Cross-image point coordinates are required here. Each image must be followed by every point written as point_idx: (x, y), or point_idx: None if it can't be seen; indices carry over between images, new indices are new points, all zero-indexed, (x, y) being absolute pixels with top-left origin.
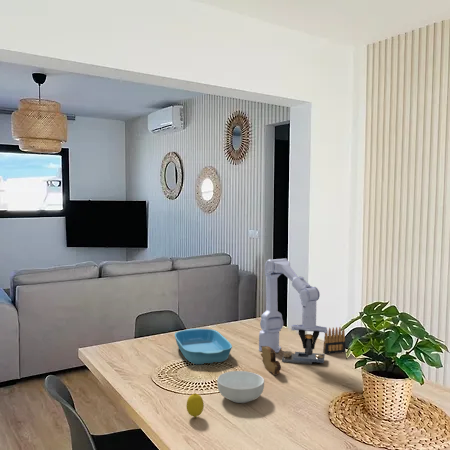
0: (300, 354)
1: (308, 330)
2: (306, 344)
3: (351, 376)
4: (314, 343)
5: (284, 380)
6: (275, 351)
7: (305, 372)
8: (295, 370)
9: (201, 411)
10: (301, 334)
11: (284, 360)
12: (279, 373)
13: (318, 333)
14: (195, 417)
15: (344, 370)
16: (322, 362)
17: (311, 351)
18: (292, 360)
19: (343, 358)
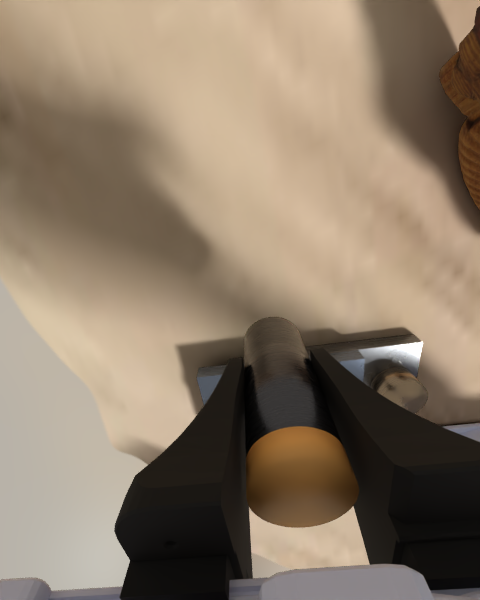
0: None
1: (336, 575)
2: (303, 372)
3: (30, 277)
4: (218, 391)
5: (384, 10)
6: (450, 429)
7: (268, 234)
8: (328, 241)
9: None
10: (440, 451)
11: (403, 339)
12: (439, 73)
13: (124, 537)
14: None
15: (93, 339)
16: (205, 368)
17: (249, 344)
18: (361, 347)
19: (148, 456)
